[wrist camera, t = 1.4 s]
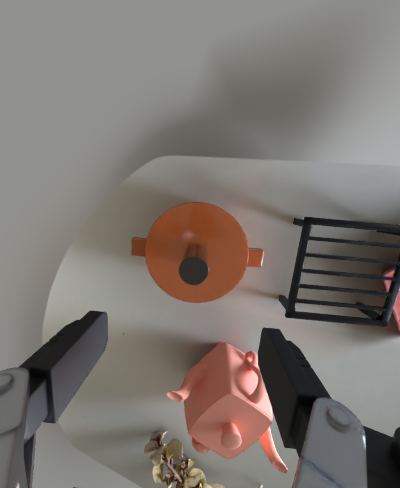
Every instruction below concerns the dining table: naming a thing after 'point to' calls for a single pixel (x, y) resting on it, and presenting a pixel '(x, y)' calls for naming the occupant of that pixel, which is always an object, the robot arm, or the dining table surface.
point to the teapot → (227, 404)
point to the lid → (196, 252)
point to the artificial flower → (192, 483)
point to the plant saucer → (399, 305)
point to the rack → (375, 319)
